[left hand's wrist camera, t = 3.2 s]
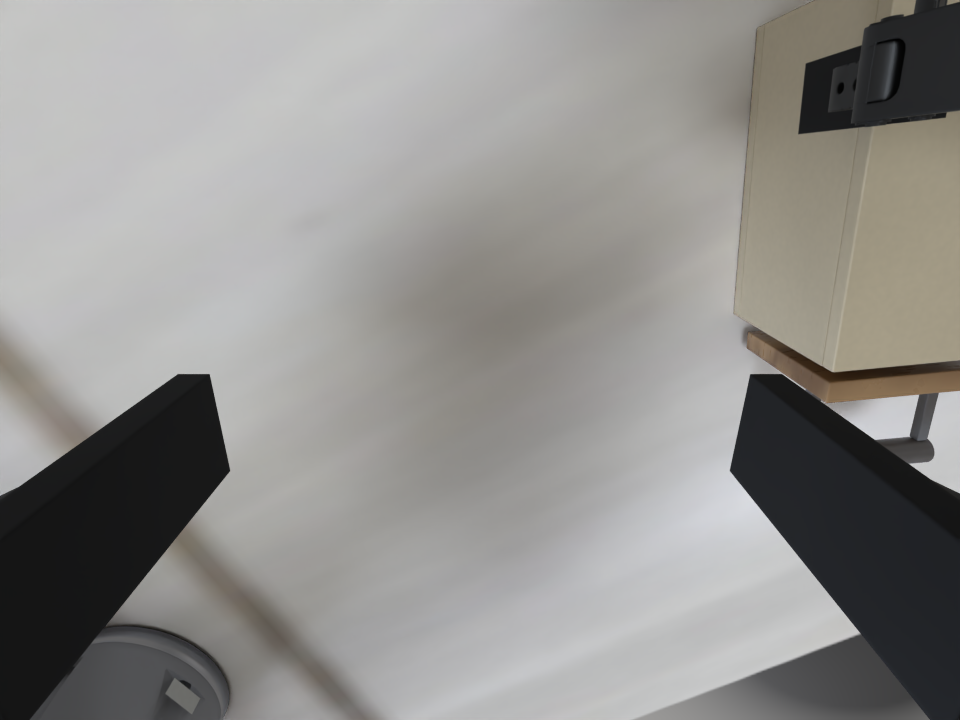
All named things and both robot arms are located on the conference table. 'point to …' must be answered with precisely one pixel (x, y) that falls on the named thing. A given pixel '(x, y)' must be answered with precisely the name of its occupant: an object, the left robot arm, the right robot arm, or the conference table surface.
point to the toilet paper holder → (868, 388)
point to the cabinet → (847, 212)
